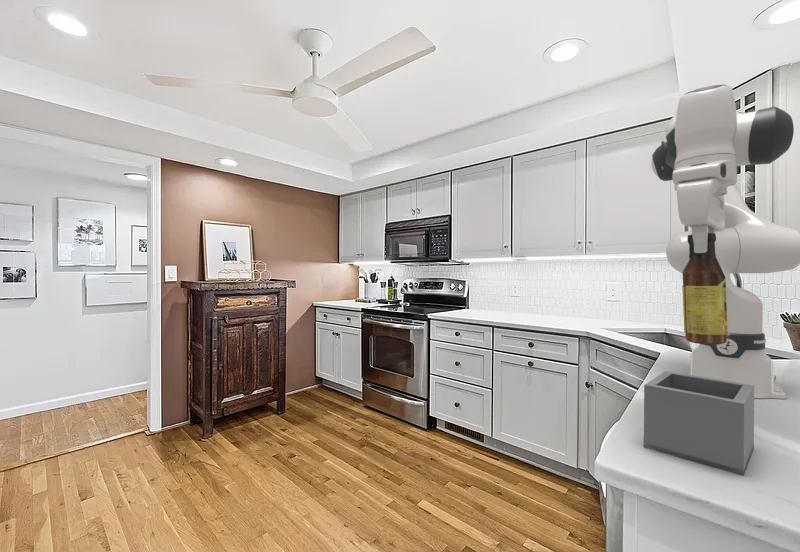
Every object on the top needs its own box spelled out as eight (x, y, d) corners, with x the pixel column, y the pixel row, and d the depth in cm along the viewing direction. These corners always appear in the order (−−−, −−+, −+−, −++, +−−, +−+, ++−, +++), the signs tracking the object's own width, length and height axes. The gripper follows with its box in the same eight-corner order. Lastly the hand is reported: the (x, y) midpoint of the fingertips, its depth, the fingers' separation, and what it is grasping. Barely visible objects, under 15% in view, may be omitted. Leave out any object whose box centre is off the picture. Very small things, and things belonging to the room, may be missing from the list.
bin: (665, 427, 68) (665, 371, 67) (753, 449, 59) (754, 385, 59) (643, 448, 59) (644, 384, 59) (743, 478, 51) (744, 403, 51)
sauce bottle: (736, 346, 66) (735, 231, 65) (695, 346, 67) (693, 233, 66) (713, 337, 72) (712, 233, 71) (676, 338, 73) (674, 235, 72)
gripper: (694, 188, 78) (693, 255, 78) (669, 170, 64) (669, 252, 64) (734, 183, 73) (734, 254, 73) (718, 162, 59) (717, 250, 60)
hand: (703, 253), depth 69 cm, fingers open, 4 cm apart
